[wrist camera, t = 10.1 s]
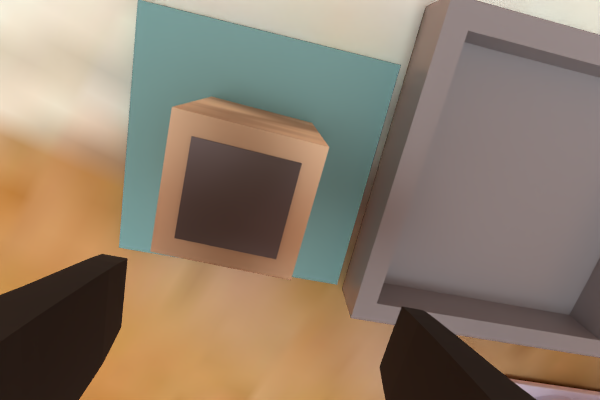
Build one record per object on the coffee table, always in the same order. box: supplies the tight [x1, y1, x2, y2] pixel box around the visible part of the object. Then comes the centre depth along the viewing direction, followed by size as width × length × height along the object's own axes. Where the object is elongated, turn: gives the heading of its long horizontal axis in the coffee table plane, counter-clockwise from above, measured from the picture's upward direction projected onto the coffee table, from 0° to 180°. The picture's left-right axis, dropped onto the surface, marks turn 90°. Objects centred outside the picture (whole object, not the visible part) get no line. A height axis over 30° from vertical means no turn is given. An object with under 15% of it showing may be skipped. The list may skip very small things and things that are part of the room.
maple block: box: [150, 96, 329, 280], centre depth 14 cm, size 4×4×6 cm
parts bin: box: [342, 0, 600, 358], centre depth 17 cm, size 14×14×2 cm
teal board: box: [119, 0, 401, 284], centre depth 17 cm, size 11×11×1 cm
